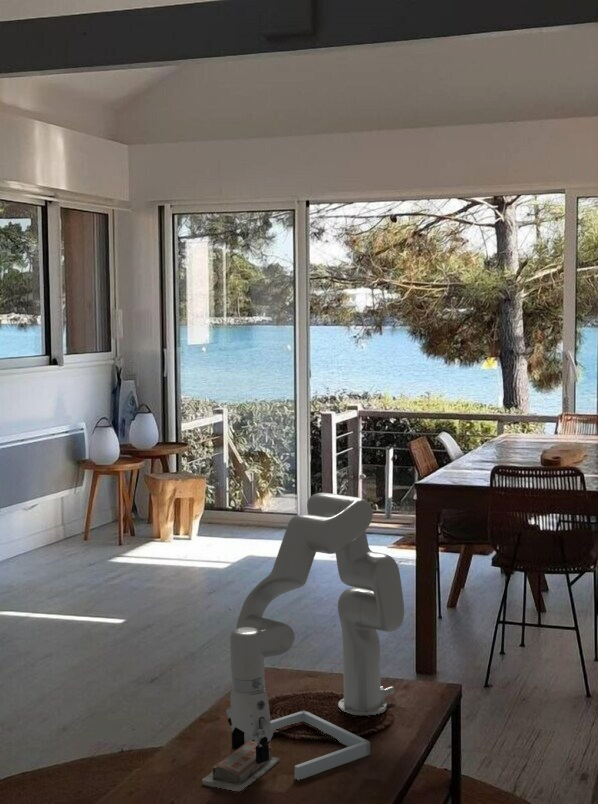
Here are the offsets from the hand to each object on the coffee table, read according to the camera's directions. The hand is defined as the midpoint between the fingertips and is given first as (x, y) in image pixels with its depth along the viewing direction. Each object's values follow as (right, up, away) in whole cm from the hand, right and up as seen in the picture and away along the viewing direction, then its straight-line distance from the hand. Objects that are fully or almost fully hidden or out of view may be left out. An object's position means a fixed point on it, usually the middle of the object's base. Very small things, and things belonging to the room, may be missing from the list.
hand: (250, 754), depth 257 cm
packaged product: (-2, -4, -3) cm, 5 cm away
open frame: (+11, -2, +9) cm, 14 cm away
